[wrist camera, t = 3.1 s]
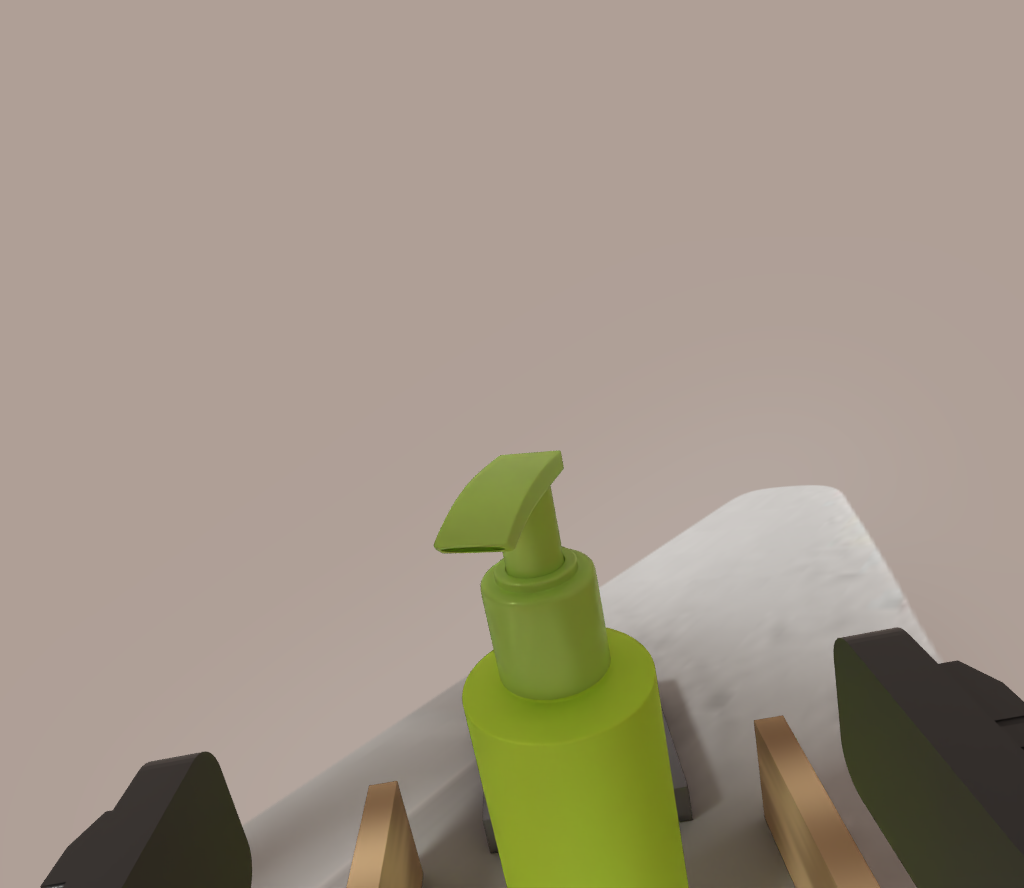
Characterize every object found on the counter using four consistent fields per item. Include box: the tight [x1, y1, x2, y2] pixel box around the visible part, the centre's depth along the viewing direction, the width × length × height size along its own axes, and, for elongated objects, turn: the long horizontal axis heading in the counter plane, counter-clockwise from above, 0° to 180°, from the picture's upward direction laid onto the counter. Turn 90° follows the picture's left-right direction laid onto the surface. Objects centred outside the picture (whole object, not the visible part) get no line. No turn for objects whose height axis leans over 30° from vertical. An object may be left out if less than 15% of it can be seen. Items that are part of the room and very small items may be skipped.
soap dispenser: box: [434, 451, 689, 888], centre depth 23 cm, size 6×7×20 cm
